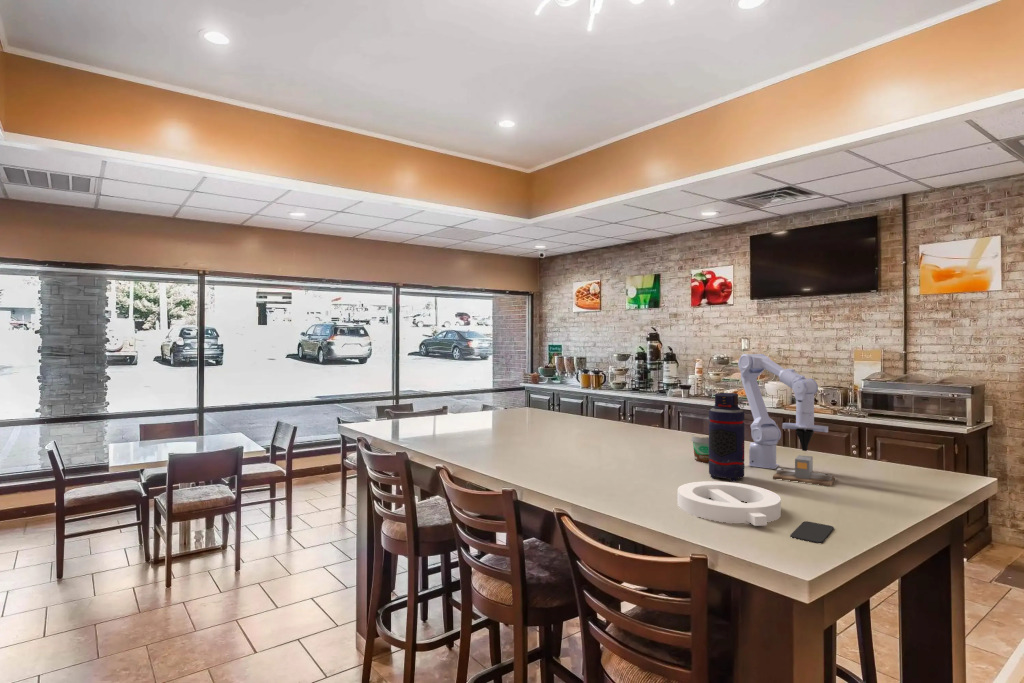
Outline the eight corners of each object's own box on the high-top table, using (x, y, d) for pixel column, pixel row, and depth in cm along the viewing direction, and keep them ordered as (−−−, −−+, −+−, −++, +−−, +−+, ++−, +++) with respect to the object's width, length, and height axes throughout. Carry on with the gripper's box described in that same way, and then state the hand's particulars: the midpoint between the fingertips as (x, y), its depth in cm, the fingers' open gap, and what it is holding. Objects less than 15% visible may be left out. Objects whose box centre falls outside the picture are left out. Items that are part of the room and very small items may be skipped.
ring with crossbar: (698, 491, 185) (698, 476, 185) (791, 507, 167) (791, 491, 167) (662, 511, 163) (662, 495, 163) (764, 532, 146) (764, 514, 146)
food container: (691, 462, 226) (691, 437, 226) (690, 459, 232) (691, 435, 232) (724, 464, 223) (724, 439, 223) (723, 461, 229) (723, 436, 229)
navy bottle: (738, 483, 194) (739, 395, 194) (704, 478, 201) (704, 393, 201) (749, 475, 205) (749, 392, 205) (716, 471, 212) (716, 390, 212)
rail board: (772, 479, 200) (772, 471, 200) (779, 472, 210) (779, 465, 210) (831, 486, 189) (831, 478, 189) (834, 479, 199) (834, 471, 199)
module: (794, 477, 198) (794, 459, 198) (798, 473, 204) (798, 455, 204) (809, 479, 195) (809, 460, 195) (812, 474, 202) (812, 456, 202)
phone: (788, 535, 141) (803, 520, 153) (788, 539, 141) (803, 523, 153) (821, 542, 136) (835, 526, 148) (821, 546, 136) (835, 529, 148)
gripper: (780, 412, 204) (780, 449, 205) (826, 415, 196) (826, 454, 196) (784, 410, 210) (784, 446, 210) (829, 413, 202) (828, 451, 202)
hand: (804, 450), depth 204 cm, fingers closed
